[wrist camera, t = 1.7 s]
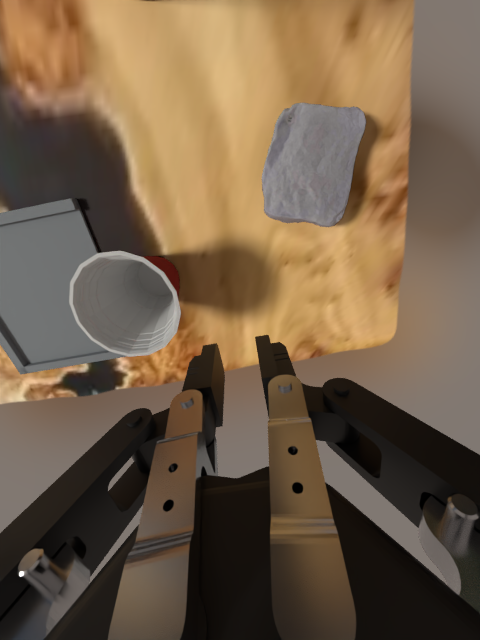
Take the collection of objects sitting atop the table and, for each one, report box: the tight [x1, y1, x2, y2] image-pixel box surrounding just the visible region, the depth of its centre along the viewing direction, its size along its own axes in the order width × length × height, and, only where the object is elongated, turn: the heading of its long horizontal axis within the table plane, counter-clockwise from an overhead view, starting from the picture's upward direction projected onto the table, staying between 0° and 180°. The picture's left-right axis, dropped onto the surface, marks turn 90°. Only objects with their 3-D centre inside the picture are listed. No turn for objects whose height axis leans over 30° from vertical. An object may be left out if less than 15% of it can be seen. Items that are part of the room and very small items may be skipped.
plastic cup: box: [69, 251, 181, 357], centre depth 30 cm, size 11×11×12 cm
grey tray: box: [0, 198, 126, 374], centre depth 36 cm, size 19×22×1 cm
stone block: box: [262, 103, 366, 227], centre depth 29 cm, size 12×5×10 cm
